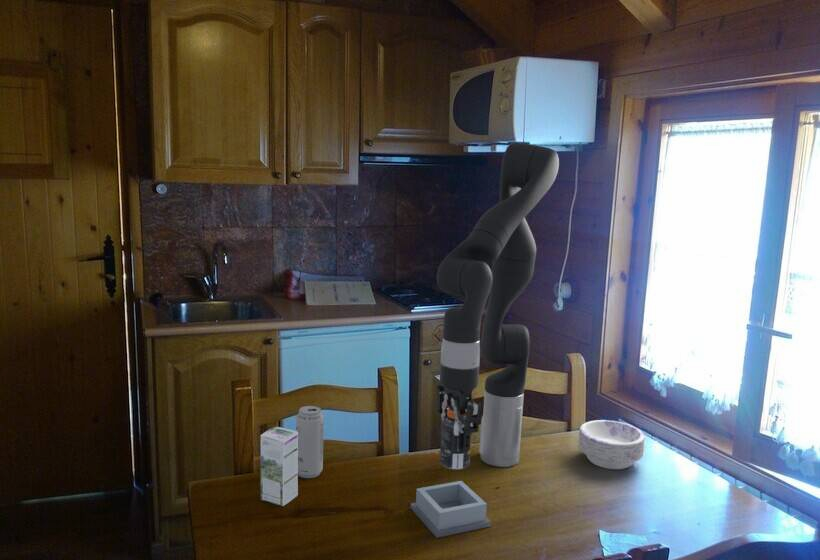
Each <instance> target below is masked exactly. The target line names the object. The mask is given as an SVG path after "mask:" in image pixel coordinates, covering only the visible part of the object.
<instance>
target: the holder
mask: <svg viewBox="0 0 820 560" xmlns="http://www.w3.org/2000/svg"><path fill="white" fill-rule="evenodd" d="M487 507H488V504H487V503H486V501H484V499H482V498H481V496H479V495H478V494H477V493H475V491H474V490H472V489H471V488H470V487H469V486H468V484H465V482H464V481H462V480H457V481H454V482H447V483H442V484H441V483H440V484H435V485H431V486H429V485H428V486H424V487H419V488H416V492H415V502H411V503H410V509H411V511H412V512H413V513H414V514H415V515H416V516H417V518H419V520H420V521H421V522H422V523H423V525H425V526H426V528H428V530H429V531H430V532H431V534H432V535H434V537H435V538H442V537H446V536H452V535H455V534H461V533H462V534H463V533H466V532H470V531H475V530H482V529H485V528H489V527H492V521H491V520H490V519H489V518H488V517H487V510H488V508H487Z"/></svg>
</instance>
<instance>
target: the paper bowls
mask: <svg viewBox="0 0 820 560" xmlns="http://www.w3.org/2000/svg"><path fill="white" fill-rule="evenodd" d="M578 435H579V436H578V449H579V450H580V451H581V452H582V453H583V454H584V455H586V457H587V460H589V462H591V463H592V464H594V465H595V466H597V467H600V468H603V469H607V470H624V469H627V468H629V467H631V466H632V465H633V463H636V462H637V461H640V460H641V459H643V456H644V453H645V450H644V449H645V439H646V437H645V434H644V432H643V431H642V430H641V429H639V428H637V427H635V426H634V425H632V424H630V423H629V424H628V423H625V422H621V421H617V420H609V419H608V420H606V419H595V420H590V421H586V422H585V423H582V424H581V425H580V427H579V432H578Z"/></svg>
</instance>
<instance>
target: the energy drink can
mask: <svg viewBox="0 0 820 560" xmlns="http://www.w3.org/2000/svg"><path fill="white" fill-rule="evenodd" d="M295 419H296V421H295V431H297V432H298V477H300V478H303V479H312V478H314V479H315V478H317V477H318V476H320V475H321V473H322V472H323V469H324V468H323V467H324V465H323V464H324V423H325V420H324V419H325V416H324V414H323V412H322V408H321V407H319V406H316V405H305V406H301V407H300V408H299V409H298V413H297V415H296V418H295Z"/></svg>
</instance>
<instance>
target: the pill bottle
mask: <svg viewBox="0 0 820 560" xmlns="http://www.w3.org/2000/svg"><path fill="white" fill-rule="evenodd" d="M447 416H448V417H446V418H444V419H443V420H442V421H441V430H440V431H441V433H440V434H441V435H440V448H439V449H440V450H439V451H440V453H439V454H440V455H439V463H440V464H441V465H442V467H445V468H447V469H451V470H463V469H465V468H468V467H469V465H471V464H470V463H471V449H472V448H471V447H472V439H471V440H470V449H469V450H468V451H463V452H461V451H460V450H458V443H459V426H458V422H457V421H456V420H455V415H454V411H453V410H452V409H450V408H448V410H447ZM460 416H461V417H463V416H466V414H460ZM463 425H464V426H465V420H464V421H463ZM472 434H473V433H471V435H472Z"/></svg>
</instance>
